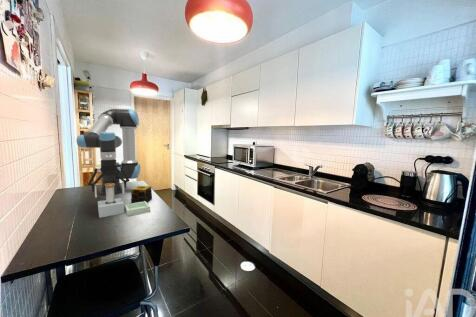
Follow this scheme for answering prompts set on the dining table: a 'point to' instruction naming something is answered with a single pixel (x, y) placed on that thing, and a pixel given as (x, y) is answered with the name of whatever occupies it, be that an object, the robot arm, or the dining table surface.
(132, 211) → the tray
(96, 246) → the dining table surface
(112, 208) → the block
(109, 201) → the pin
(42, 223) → the dining table surface
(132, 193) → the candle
